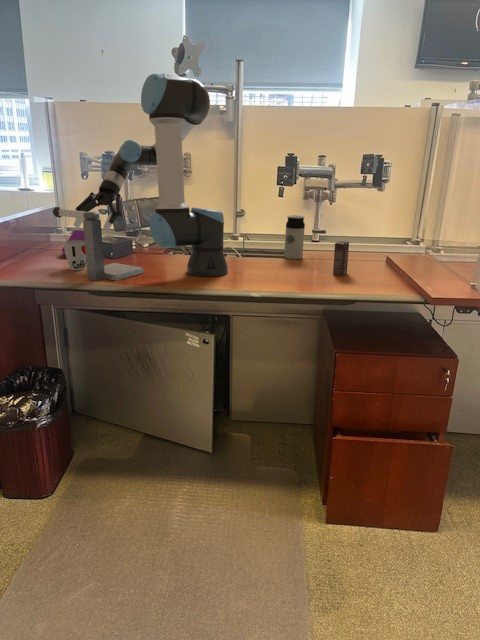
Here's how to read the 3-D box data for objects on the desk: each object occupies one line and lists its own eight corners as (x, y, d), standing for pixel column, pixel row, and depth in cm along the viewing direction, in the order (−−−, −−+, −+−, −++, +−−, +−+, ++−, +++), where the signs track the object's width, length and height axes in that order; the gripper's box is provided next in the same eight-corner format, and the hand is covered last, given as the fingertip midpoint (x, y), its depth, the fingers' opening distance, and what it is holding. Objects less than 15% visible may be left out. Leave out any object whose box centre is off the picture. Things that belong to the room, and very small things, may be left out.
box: (335, 271, 178) (338, 240, 174) (347, 273, 176) (350, 241, 172) (331, 275, 173) (334, 242, 169) (343, 276, 171) (346, 244, 167)
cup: (71, 272, 166) (68, 244, 163) (63, 268, 172) (60, 241, 169) (92, 269, 171) (90, 242, 168) (84, 265, 177) (81, 239, 174)
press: (143, 273, 168) (141, 217, 162) (107, 283, 153) (102, 222, 147) (115, 268, 175) (111, 214, 168) (77, 277, 160) (72, 218, 153)
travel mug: (293, 255, 207) (295, 214, 202) (306, 258, 202) (309, 216, 196) (280, 257, 203) (282, 215, 197) (293, 260, 197) (296, 217, 191)
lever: (103, 221, 153) (102, 210, 152) (91, 222, 149) (90, 211, 147) (61, 216, 162) (60, 205, 161) (49, 217, 158) (48, 206, 157)
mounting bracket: (85, 272, 193) (99, 246, 206) (80, 255, 187) (95, 230, 200) (64, 270, 194) (79, 245, 207) (58, 254, 188) (74, 229, 201)
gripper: (142, 193, 184) (122, 236, 176) (90, 190, 192) (69, 231, 184) (134, 180, 178) (113, 224, 169) (80, 177, 186) (58, 219, 177)
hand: (90, 228), depth 176 cm, fingers open, 13 cm apart
